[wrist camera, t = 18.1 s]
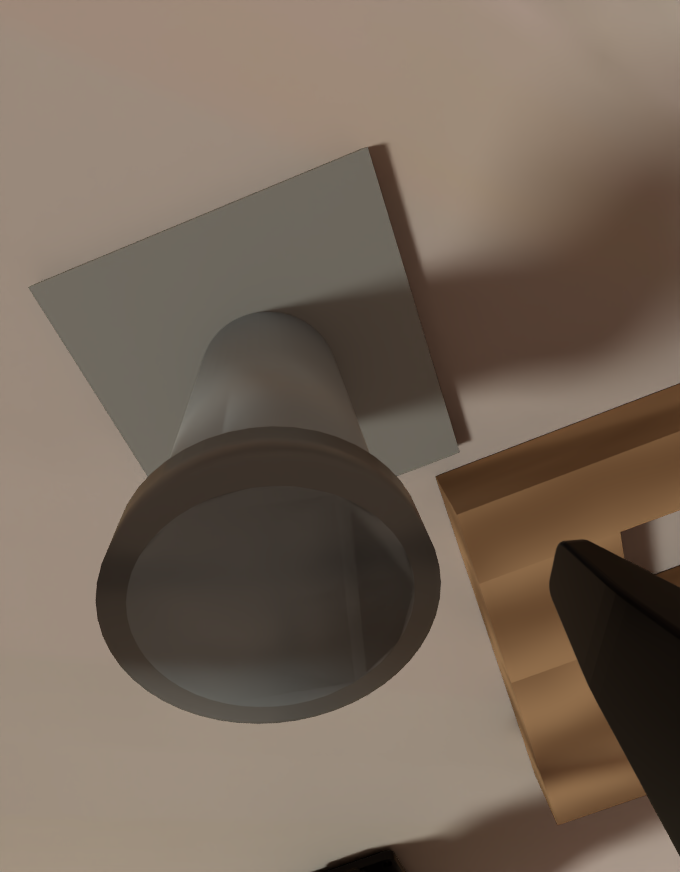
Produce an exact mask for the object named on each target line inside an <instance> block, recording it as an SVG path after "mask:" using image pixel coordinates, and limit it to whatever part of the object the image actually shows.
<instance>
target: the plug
mask: <svg viewBox="0 0 680 872" xmlns="http://www.w3.org/2000/svg"><path fill="white" fill-rule="evenodd" d="M440 587H441V580H440V569H439V563H438V559H437V556H436V552H435V549H434V546H433V544H432V542H431V540H430V537H429V535H428V533H427V531H426V529H425V526H424V524H423V522H422V520H421V517H420V515H419V513H418V511H417V509H416V506H415V504H414V502H413V500H412V498H411V496H410V494H409V493H408V491H407V490H406V488H405V487H404V485H403V484H402V482H401V481H400V480H399V479H398V477H397V476H396V475H395V474H394V473H393V472H392V471H391V470H390V469H389V468H388V467H387V466H386V465H385V464H383V463H382V462H381V461H380V460H379V459H377V458H376V457H375V456H374V455H372V454H370V453H369V450H368V447H367V445H366V442H365V439H364V437H363V434H362V431H361V428H360V426H359V423H358V420H357V418H356V415H355V412H354V410H353V407H352V404H351V402H350V399H349V396H348V393H347V391H346V388H345V385H344V383H343V380H342V377H341V375H340V372H339V369H338V367H337V364H336V361H335V359H334V356H333V353H332V351H331V349H330V347H329V345H328V344H327V342H326V341H325V339H324V338H323V337H322V336H321V334H320V333H319V332H318V331H317V330H316V329H314V328H313V327H312V326H311V325H309V324H308V323H306V322H305V321H303V320H301V319H299V318H297V317H294V316H292V315H289V314H285V313H280V312H269V311H268V312H257V313H251V314H248V315H245V316H242V317H240V318H238V319H236V320H233V321H232V322H230V323H229V324H227V325H226V326H225V327H224V328H222V329H221V330H220V331H219V332H218V333H217V334H216V336H215V337H214V338H213V339H212V341H211V342H210V344H209V345H208V348H207V350H206V352H205V354H204V357H203V360H202V363H201V366H200V369H199V372H198V375H197V378H196V381H195V384H194V387H193V390H192V393H191V396H190V399H189V402H188V405H187V408H186V411H185V414H184V417H183V420H182V423H181V426H180V429H179V432H178V435H177V438H176V441H175V444H174V447H173V450H172V453H171V456H170V459H168V460H167V461H165V462H164V463H163V464H162V465H161V466H159V467H158V468H157V469H156V470H155V471H153V472H152V473H151V474H150V475H149V476H148V477H147V479H146V480H145V481H144V482H143V483H142V484H141V485H140V486H139V488H138V489H137V490H136V492H135V493H134V495H133V496H132V498H131V499H130V501H129V502H128V504H127V506H126V508H125V510H124V513H123V515H122V517H121V519H120V522H119V524H118V526H117V529H116V531H115V533H114V536H113V538H112V541H111V543H110V545H109V548H108V550H107V553H106V555H105V557H104V560H103V562H102V565H101V569H100V573H99V577H98V581H97V590H96V608H97V617H98V622H99V625H100V628H101V632H102V635H103V637H104V640H105V642H106V644H107V646H108V648H109V650H110V652H111V653H112V655H113V656H114V658H115V659H116V660H117V662H118V663H119V665H120V666H121V667H122V668H123V669H124V670H125V671H126V672H127V674H128V675H129V676H130V677H131V678H132V679H133V680H134V681H136V682H137V683H138V684H139V685H141V686H142V687H143V688H144V689H146V690H147V691H148V692H150V693H151V694H153V695H155V696H156V697H158V698H160V699H161V700H163V701H165V702H167V703H169V704H171V705H173V706H175V707H177V708H180V709H182V710H185V711H188V712H191V713H193V714H196V715H199V716H204V717H208V718H212V719H216V720H222V721H229V722H236V723H254V724H261V723H280V722H288V721H296V720H301V719H305V718H310V717H314V716H318V715H321V714H324V713H328V712H331V711H334V710H337V709H339V708H341V707H344V706H346V705H349V704H351V703H353V702H355V701H357V700H359V699H361V698H363V697H364V696H366V695H368V694H370V693H371V692H373V691H374V690H376V689H377V688H379V687H380V686H382V685H383V684H385V683H386V682H387V681H388V680H390V679H391V678H392V677H393V676H394V675H396V674H397V673H398V672H399V671H400V670H401V669H402V668H403V667H404V666H405V665H406V664H407V663H408V662H409V661H410V660H411V658H412V657H413V656H414V654H415V653H416V652H417V651H418V649H419V648H420V647H421V645H422V643H423V642H424V640H425V638H426V636H427V635H428V633H429V631H430V629H431V626H432V624H433V621H434V619H435V616H436V612H437V608H438V604H439V600H440Z"/></svg>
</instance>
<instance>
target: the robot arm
mask: <svg viewBox="0 0 680 872" xmlns="http://www.w3.org/2000/svg"><path fill="white" fill-rule="evenodd" d="M549 591H550V595H551V598H552V601H553V603H554V606H555V608H556V610H557V613H558V615H559V618H560V620H561V623H562V625H563V627H564V630H565V632H566V635H567V637H568V639H569V642H570V644H571V647H572V649H573V651H574V654H575V656H576V659H577V661H578V663H579V666H580V668H581V671H582V673H583V675H584V677H585V680H586V682H587V684H588V686H589V688H590V690H591V692H592V694H593V696H594V698H595V700H596V702H597V704H598V706H599V708H600V709H601V711H602V713H603V715H604V717H605V719H606V721H607V722H608V724H609V726H610V728H611V730H612V732H613V734H614V735H615V737H616V739H617V741H618V743H619V745H620V746H621V748H622V750H623V752H624V754H625V756H626V758H627V759H628V761H629V763H630V765H631V767H632V769H633V771H634V772H635V774H636V776H637V778H638V780H639V782H640V783H641V785H642V787H643V789H644V791H645V793H646V795H647V796H648V798H649V800H650V802H651V804H652V806H653V808H654V809H655V811H656V813H657V815H658V817H659V819H660V821H661V822H662V824H663V826H664V828H665V830H666V832H667V833H668V835H669V837H670V839H671V841H672V843H673V845H674V846H675V848H676V850H677V852H678V854H679V856H680V587H678V586H676V585H674V584H672V583H670V582H669V581H667V580H665V579H663V578H661V577H659V576H657V575H655V574H653V573H651V572H649V571H647V570H645V569H643V568H641V567H639V566H637V565H635V564H633V563H632V562H630V561H628V560H626V559H624V558H622V557H620V556H618V555H616V554H614V553H612V552H610V551H608V550H606V549H604V548H602V547H600V546H598V545H596V544H594V543H593V542H591V541H588V540H585V539H578V540H566V541H562V542H560V543H559V544H558V546H557V548H556V551H555V556H554V560H553V565H552V570H551V575H550V579H549ZM326 872H406V871H405V869H404V868H403V866H402V864H401V863H400V861H399V860H398V858H397V856H396V855H395V853H394V852H392V851H384V852H381V853H378V854H375V855H372V856H369V857H366V858H363V859H361V860H358V861H355V862H352V863H349V864H346V865H343V866H340V867H338V868H335V869H332V870H329V871H326Z"/></svg>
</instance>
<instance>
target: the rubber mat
mask: <svg viewBox="0 0 680 872" xmlns="http://www.w3.org/2000/svg"><path fill="white" fill-rule="evenodd" d="M28 288H29V289H30V291H31V293H32V294H33V296H34V297H35V299H36V300H37V302H38V304H39V305H40V307H41V308H42V310H43V312H44V313H45V315H46V316H47V318H48V319H49V321H50V323H51V324H52V326H53V327H54V329H55V331H56V332H57V334H58V335H59V337H60V338H61V340H62V342H63V343H64V345H65V346H66V348H67V350H68V351H69V353H70V354H71V356H72V357H73V359H74V361H75V362H76V364H77V365H78V367H79V369H80V370H81V372H82V373H83V375H84V376H85V378H86V380H87V381H88V383H89V384H90V386H91V388H92V389H93V391H94V392H95V394H96V395H97V397H98V399H99V400H100V402H101V403H102V405H103V407H104V408H105V410H106V411H107V413H108V414H109V416H110V418H111V419H112V421H113V422H114V424H115V426H116V427H117V429H118V430H119V432H120V433H121V435H122V437H123V438H124V440H125V441H126V443H127V444H128V446H129V448H130V449H131V451H132V452H133V454H134V456H135V457H136V459H137V460H138V462H139V463H140V465H141V467H142V468H143V470H144V471H145V473H146V475H147V476H149V475H150V474H151V473H152V472H153V471H155V470H156V469H157V468H158V467H159V466H161V465H162V464H163V463H164V462H165V461H167V460H168V459H170V456H171V453H172V450H173V447H174V444H175V441H176V438H177V435H178V432H179V429H180V426H181V423H182V420H183V417H184V414H185V411H186V408H187V405H188V402H189V399H190V396H191V393H192V390H193V387H194V384H195V381H196V378H197V375H198V372H199V369H200V366H201V363H202V360H203V357H204V354H205V352H206V350H207V348H208V345H209V344H210V342H211V341H212V339H213V338H214V337H215V336H216V334H217V333H218V332H219V331H220V330H221V329H222V328H224V327H225V326H226V325H227V324H229V323H230V322H232V321H233V320H236V319H238V318H240V317H242V316H245V315H248V314H251V313H257V312H268V311H269V312H280V313H285V314H289V315H292V316H294V317H297V318H299V319H301V320H303V321H305V322H306V323H308V324H309V325H311V326H312V327H313V328H314V329H316V330H317V331H318V332H319V333H320V334H321V336H322V337H323V338H324V339H325V341H326V342H327V344H328V345H329V347H330V349H331V351H332V353H333V356H334V359H335V361H336V364H337V367H338V369H339V372H340V375H341V377H342V380H343V383H344V385H345V388H346V391H347V393H348V396H349V399H350V402H351V404H352V407H353V410H354V412H355V415H356V418H357V420H358V423H359V426H360V428H361V431H362V434H363V437H364V439H365V442H366V445H367V447H368V450H369V453H370V454H372V455H374V456H375V457H376V458H377V459H379V460H380V461H381V462H382V463H383V464H385V465H386V466H387V467H388V468H389V469H390V470H391V471H392V472H393V473H394V474H395V475H396V476H399V475H401V474H404V473H407V472H409V471H412V470H414V469H417V468H420V467H422V466H425V465H427V464H430V463H433V462H435V461H438V460H441V459H443V458H446V457H448V456H451V455H454V454H456V453H459V448H458V445H457V442H456V438H455V435H454V432H453V429H452V425H451V422H450V419H449V415H448V412H447V409H446V405H445V402H444V399H443V395H442V392H441V389H440V385H439V382H438V379H437V375H436V372H435V369H434V366H433V362H432V359H431V356H430V352H429V349H428V346H427V342H426V339H425V336H424V332H423V329H422V326H421V322H420V319H419V316H418V312H417V309H416V306H415V302H414V299H413V296H412V293H411V289H410V286H409V283H408V279H407V276H406V273H405V269H404V266H403V263H402V259H401V256H400V253H399V249H398V246H397V243H396V239H395V236H394V233H393V230H392V226H391V223H390V220H389V216H388V213H387V210H386V206H385V203H384V200H383V196H382V193H381V190H380V186H379V183H378V180H377V176H376V173H375V170H374V166H373V163H372V160H371V157H370V153H369V150H368V147H366V148H363V149H360V150H358V151H355V152H353V153H350V154H348V155H346V156H343V157H341V158H338V159H336V160H334V161H331V162H329V163H326V164H324V165H321V166H319V167H317V168H314V169H312V170H309V171H307V172H305V173H302V174H300V175H297V176H295V177H292V178H290V179H288V180H285V181H283V182H280V183H278V184H276V185H273V186H271V187H268V188H266V189H263V190H261V191H259V192H256V193H254V194H251V195H249V196H247V197H244V198H242V199H239V200H237V201H234V202H232V203H230V204H227V205H225V206H222V207H220V208H218V209H215V210H213V211H210V212H208V213H205V214H203V215H201V216H198V217H196V218H193V219H191V220H189V221H186V222H184V223H181V224H179V225H176V226H174V227H172V228H169V229H167V230H164V231H162V232H160V233H157V234H155V235H152V236H150V237H147V238H145V239H143V240H140V241H138V242H135V243H133V244H131V245H128V246H126V247H123V248H121V249H118V250H116V251H114V252H111V253H109V254H106V255H104V256H102V257H99V258H97V259H94V260H92V261H90V262H87V263H85V264H82V265H80V266H77V267H75V268H73V269H70V270H68V271H65V272H63V273H61V274H58V275H56V276H53V277H51V278H48V279H46V280H44V281H41V282H39V283H36V284H34V285H32V286H30V287H28Z"/></svg>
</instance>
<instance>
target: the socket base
mask: <svg viewBox="0 0 680 872" xmlns="http://www.w3.org/2000/svg"><path fill="white" fill-rule="evenodd" d="M436 480H437V483H438V486H439V489H440V492H441V495H442V498H443V501H444V504H445V507H446V510H447V513H448V516H449V519H450V522H451V525H452V528H453V531H454V534H455V537H456V540H457V543H458V546H459V549H460V552H461V555H462V558H463V561H464V564H465V567H466V570H467V573H468V576H469V578H470V581H471V584H472V587H473V590H474V593H475V596H476V599H477V602H478V605H479V608H480V611H481V614H482V617H483V620H484V623H485V626H486V629H487V632H488V635H489V638H490V641H491V644H492V647H493V650H494V653H495V656H496V659H497V662H498V665H499V668H500V671H501V674H502V677H503V680H504V683H505V686H506V689H507V692H508V695H509V698H510V701H511V704H512V707H513V710H514V713H515V716H516V719H517V722H518V725H519V728H520V731H521V734H522V737H523V740H524V743H525V746H526V749H527V752H528V755H529V758H530V761H531V764H532V767H533V770H534V773H535V776H536V778H537V780H538V783H539V785H540V787H541V789H542V791H543V794H544V796H545V798H546V800H547V803H548V805H549V807H550V809H551V812H552V814H553V816H554V818H555V821H556V823H557V825H560V824H563V823H566V822H569V821H572V820H575V819H578V818H581V817H584V816H587V815H590V814H592V813H595V812H598V811H601V810H604V809H607V808H610V807H613V806H616V805H619V804H622V803H624V802H627V801H630V800H633V799H636V798H639V797H642V796H645V795H646V793H645V791H644V789H643V787H642V785H641V783H640V782H639V780H638V778H637V776H636V774H635V772H634V771H633V769H632V767H631V765H630V763H629V761H628V759H627V758H626V756H625V754H624V752H623V750H622V748H621V746H620V745H619V743H618V741H617V739H616V737H615V735H614V734H613V732H612V730H611V728H610V726H609V724H608V722H607V721H606V719H605V717H604V715H603V713H602V711H601V709H600V708H599V706H598V704H597V702H596V700H595V698H594V696H593V694H592V692H591V690H590V688H589V686H588V684H587V682H586V680H585V677H584V675H583V673H582V671H581V668H580V666H579V663H578V661H577V659H576V656H575V654H574V651H573V649H572V647H571V644H570V642H569V639H568V637H567V635H566V632H565V630H564V627H563V625H562V623H561V620H560V618H559V615H558V613H557V610H556V608H555V606H554V603H553V601H552V598H551V595H550V591H549V579H550V575H551V570H552V565H553V560H554V556H555V551H556V548H557V546H558V544H559V543H560V542H562V541H566V540H578V539H585V540H588V541H591V542H593V543H594V544H596V545H598V546H600V547H602V548H604V549H606V550H608V551H610V552H612V553H614V554H616V555H618V556H620V557H622V558H624V553H623V547H622V540H621V534H620V532H622V531H624V530H627V529H630V528H633V527H635V526H638V525H641V524H643V523H646V522H649V521H652V520H654V519H657V518H660V517H662V516H665V515H668V514H671V513H673V512H676V511H679V510H680V384H678V385H675V386H673V387H670V388H667V389H665V390H662V391H659V392H657V393H654V394H651V395H649V396H646V397H644V398H641V399H638V400H636V401H633V402H630V403H628V404H625V405H623V406H620V407H617V408H615V409H612V410H609V411H607V412H604V413H602V414H599V415H596V416H594V417H591V418H588V419H586V420H583V421H580V422H578V423H575V424H573V425H570V426H567V427H565V428H562V429H559V430H557V431H554V432H552V433H549V434H546V435H544V436H541V437H538V438H536V439H533V440H531V441H528V442H525V443H523V444H520V445H517V446H515V447H512V448H509V449H507V450H504V451H502V452H499V453H496V454H494V455H491V456H488V457H486V458H483V459H481V460H478V461H475V462H473V463H470V464H467V465H465V466H462V467H460V468H457V469H454V470H452V471H449V472H446V473H444V474H441V475H438V476H436ZM656 575H657V576H659V577H661V578H663V579H665V580H667V581H669V582H670V583H672V584H674V585H676V586H678V587H680V566H678V567H675V568H672V569H670V570H667V571H664V572H661V573H659V574H656Z"/></svg>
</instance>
